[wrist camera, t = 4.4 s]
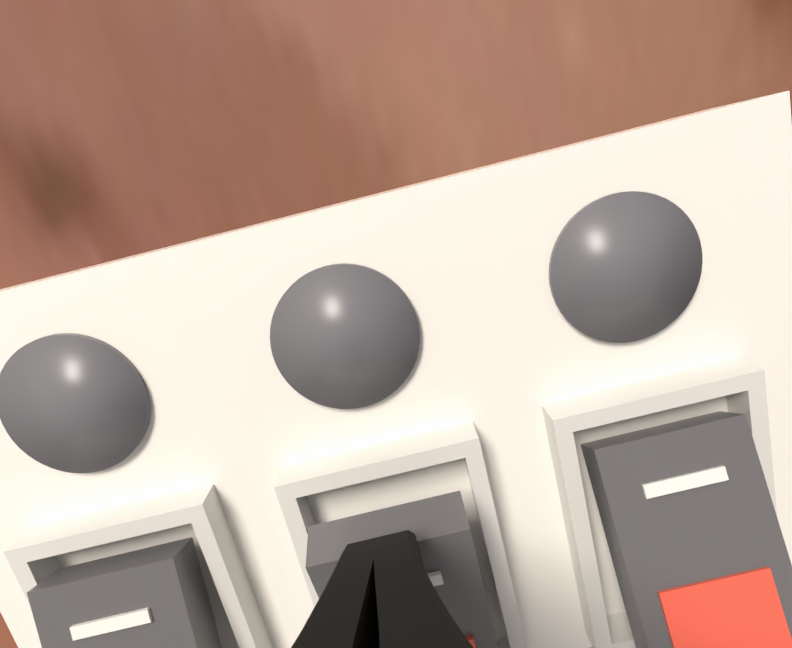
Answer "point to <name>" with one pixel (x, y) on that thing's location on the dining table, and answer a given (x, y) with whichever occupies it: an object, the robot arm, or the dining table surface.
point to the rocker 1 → (127, 602)
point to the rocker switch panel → (408, 373)
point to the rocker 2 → (693, 535)
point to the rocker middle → (439, 547)
